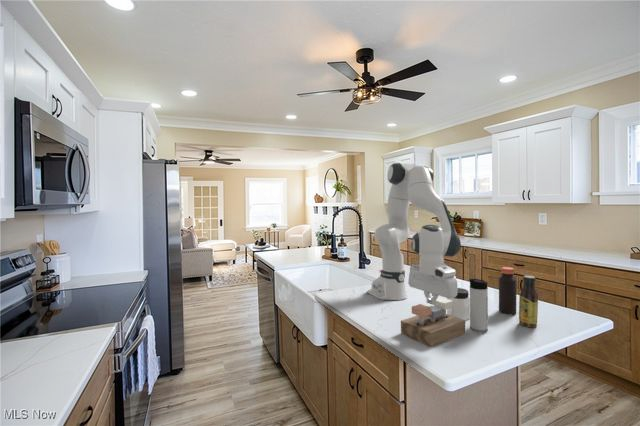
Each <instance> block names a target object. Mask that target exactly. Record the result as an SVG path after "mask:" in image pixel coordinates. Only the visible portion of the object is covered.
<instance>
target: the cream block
mask: <svg viewBox="0 0 640 426" xmlns="http://www.w3.org/2000/svg"><path fill="white" fill-rule="evenodd" d="M433 306H434V307H437V308H440V309H443V316H441V318H444V319H445V318H446V314H447V309H449V308H452V307H453V301H452V300H448V299H447V298H446V297H439V298H437V299H436V304H435V305H433Z"/></svg>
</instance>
